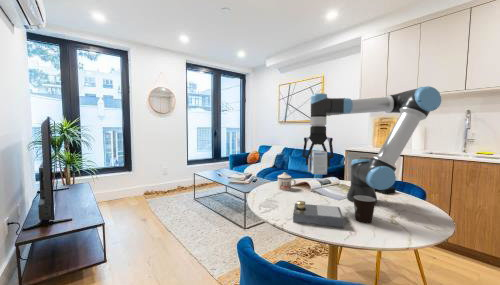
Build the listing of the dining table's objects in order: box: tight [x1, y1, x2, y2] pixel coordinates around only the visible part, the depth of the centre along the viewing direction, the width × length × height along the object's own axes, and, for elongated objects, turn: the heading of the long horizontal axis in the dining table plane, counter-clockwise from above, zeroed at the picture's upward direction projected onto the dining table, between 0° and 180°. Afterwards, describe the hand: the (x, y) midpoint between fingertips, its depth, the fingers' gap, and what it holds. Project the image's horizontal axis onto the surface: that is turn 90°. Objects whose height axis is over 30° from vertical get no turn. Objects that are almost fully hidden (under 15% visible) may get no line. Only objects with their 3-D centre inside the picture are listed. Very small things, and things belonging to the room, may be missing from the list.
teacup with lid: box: [277, 172, 297, 191], centre depth 147 cm, size 12×9×12 cm
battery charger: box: [374, 186, 396, 196], centre depth 146 cm, size 13×10×4 cm
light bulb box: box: [309, 149, 328, 175], centre depth 112 cm, size 11×7×11 cm, turn 177°
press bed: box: [292, 202, 345, 229], centre depth 100 cm, size 20×14×4 cm
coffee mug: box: [353, 195, 376, 225], centre depth 100 cm, size 12×9×10 cm
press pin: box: [296, 200, 306, 210], centre depth 102 cm, size 4×4×4 cm
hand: (317, 171), depth 113 cm, fingers closed on light bulb box, 7 cm apart
